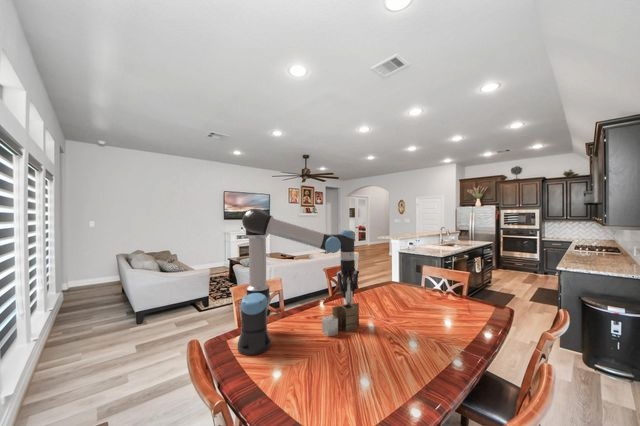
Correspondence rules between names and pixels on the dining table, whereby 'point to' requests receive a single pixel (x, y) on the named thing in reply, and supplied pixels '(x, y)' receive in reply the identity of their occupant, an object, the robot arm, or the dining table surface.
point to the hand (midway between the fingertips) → (348, 303)
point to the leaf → (335, 321)
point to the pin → (348, 294)
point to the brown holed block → (348, 312)
